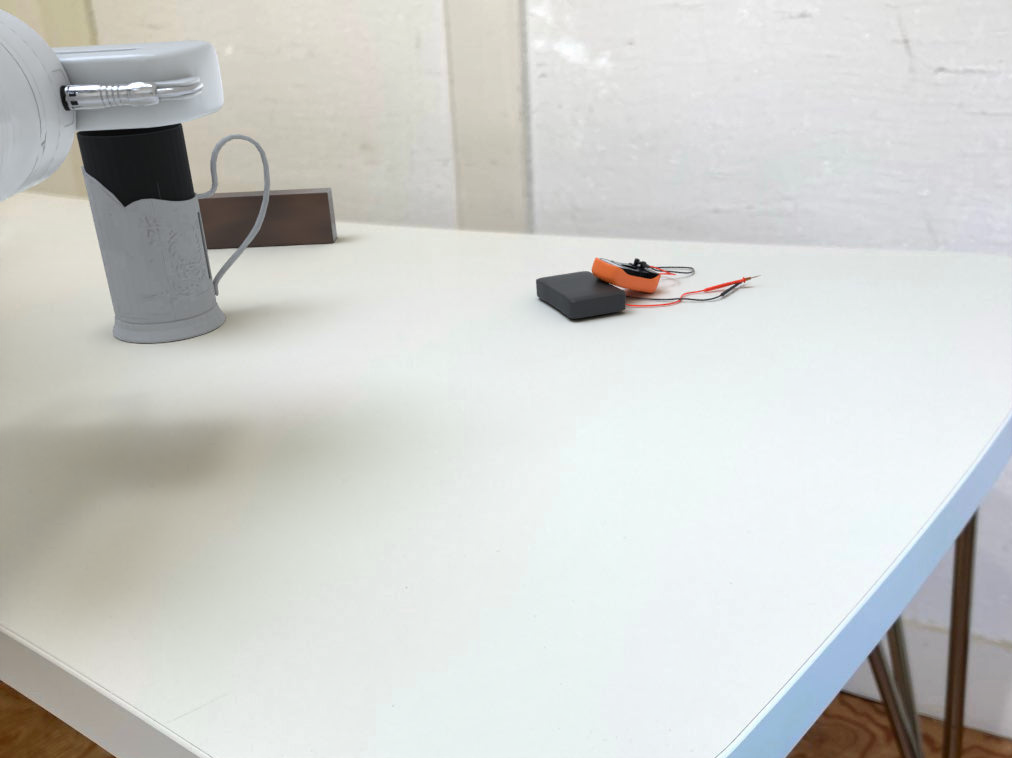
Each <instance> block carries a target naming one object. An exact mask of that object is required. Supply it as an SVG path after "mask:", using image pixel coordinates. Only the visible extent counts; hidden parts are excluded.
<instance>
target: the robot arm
mask: <svg viewBox="0 0 1012 758" xmlns="http://www.w3.org/2000/svg"><path fill="white" fill-rule="evenodd" d="M220 67H221V66H220V62H219V57H218V54H217V50H216V48H215V45H213V44H212V43H211V42H208V41H205V40H197V39H196V40H172V41H153V42H133V43H113V44H112V43H111V44H95V45H75V46H56V47H55V46H54V47H51V46H50V44H48V42H47V41H46V40H45V39H44V37H42V36H41V35H40V34H39V33H38V32H37V31H36V30H35V29H34V28H32V27H31V26H30V25H29V24H28V23H27V22H25V21H23V20H22V19H20V18H19V17H17V16H16V15H13V14H12V13H11V12H8V11H5V10H3V9H1V8H0V203H3V202H5V201H7V200H8V199H10V198H12V197H14V196H16V195H18V194H21V193H23V192H24V191H27V190H29V189H31V188H33V187H35V186H37V185H39V184H41V183H42V182H44V181H46V180H47V179H49V178H50V177H51V176H52V175H53V174H55V173H56V172H57V171H58V170H59V168H60V167H62V165H63V164H64V162H65V161H66V159H67V157H68V155H69V153H70V151H71V148H72V146H73V142H74V139H75V135H76V132H79V131H95V130H115V129H134V128H151V127H160V126H167V125H173V124H178V123H181V124H182V123H183V124H184V123H187V122H191V121H194V120H197V119H200V118H204V117H206V116H209V115H212V114H215V113H218V112H219V111H220V110H221V109H222V108H223V106H224V104H225V103H224V102H225V97H224V96H225V95H224V87H223V81H222V73H221V68H220Z"/></svg>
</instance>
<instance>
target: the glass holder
mask: <svg viewBox="0 0 1012 758" xmlns="http://www.w3.org/2000/svg"><path fill="white" fill-rule="evenodd" d="M75 135H76V138H77V139H76V140H77V143H78V147H79V152H80V156H81V161H82V165H80V168H81V172H82V176H83V181H84V185H85V189H86V190H85V191H86V194H87V198H88V202H89V207H90V211H91V217H92V220H93V225H94V229H95V233H96V238H97V242H98V246H99V247H98V248H99V250H100V255H101V260H102V264H103V268H104V273H105V277H106V282H107V287H108V291H109V295H110V300H111V304H112V307H113V313H114V323H113V327H112V335H113V337H114V338H116V339H117V340H119V341H123V342H127V343H133V344H135V343H136V344H156V343H168V342H175V341H181V340H187V339H191V338H195V337H198V336H202V335H204V334H207V333H210V332H212V331H214V330H216V329H218V328H219V327H221V326H222V325H223V324H224V323H225V322H226V316H225V314H224V312H223V311H222V309H221V308H220V306H219V303H218V301H217V296H219V294H220V293H219V283H220V281H221V279H222V278H223V277H224V275H226V273H227V271H228V270H230V268H231V267H232V266H233V264H235V262H236V261H237V260H238V259H239V258H240V257H241V255H242V254H243V253H244V251H245V250H246V249H247V248H248V247H247V246H248V245H249V244H250V242H251V241H252V240H253V239H254V237H255V236H256V234H257V233H258V232H259V230H260V228H261V225H262V223H263V220H264V217H265V214H266V210H267V206H268V202H269V192H270V191H271V176H270V167H269V162H268V159H267V154H266V151H265V150H264V149H263V147H262V146H261V144H260V143H259V142H258V141H256V140H255V139H254V138H252V137H250V136H248V135H245V134H241V133H240V134H239V133H235V134H228V135H227V136H224V137H222V138H221V139H220V140H219V141H217V143H216V144H215V145H214V147H213V149H212V152H211V156H210V160H209V166H210V170H209V171H210V176H211V177H210V178H211V188H210V189H209V190H208V191H205V192H201V193H197V192H195V189H194V182H193V178H192V170H191V166H190V161H189V155H188V150H187V145H186V139H185V138H186V137H185V134H184V128H183V124H182V123H178V124H173V125H167V126H160V127H151V128H134V129H115V130H95V131H76V132H75ZM233 140H243V141H246V142H249V143H250V144H252V145H254V147H255V148H256V150H257V151H258V153H259V156H260V159H261V163H262V167H263V182H264V185H263V191H264V194H263V201H262V205H261V208H260V212H259V215H258V218H257V220H256V223H255V225H254V227H253V229H252V230H251V232H250V233H249V235H248V236H247V238H246V239H245V240H244V242H243V243H242V244H241V246H240V247H237V248H236V250H235V251H234V252H233V253H232V255H231V256H230V257H229V258H228V259H227V261H226V262H225V263H224V264H223V265H222V266H221V267H220V269H219V270H218V272H217V273H216V275H215V276H214V278H213V274H212V270H211V264H210V258H209V257H210V256H209V253H208V249H207V246H206V241H205V235H204V230H203V224H202V219H201V213H200V208H199V202H198V199H204V198H207V197H210V196H212V195H213V194H214V193H217V190H218V187H219V179H218V171H217V163H218V156H219V153H220V152H221V150H222V148H223V147H224V146H225V145H226V144H227V143H228V142H230V141H233Z"/></svg>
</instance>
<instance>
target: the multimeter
mask: <svg viewBox="0 0 1012 758" xmlns="http://www.w3.org/2000/svg"><path fill="white" fill-rule="evenodd" d="M665 269H689V270H691V271H678V270H677V271H676V270H665ZM694 272H695V268H694V267H691V266H655V265H650V264H648V263H647V262H646V261H645V260H640V258H638V257H634V259H633V262H628V263H627V262H620V261H614V260H610V259H608V258H603V257H597V256H596V257H595V258H594V261H593V263H592V265H591V272H590V271H588V270H583V271H575V272H569V273H561V274H556V275H549V276H543V277H539V278H537V279H536V280H535V286H536V287H535V288H536V297H537V298H538V299H540V300H542V301H544V302H546V303H547V304H549V305H551V306H552V307H553V308H555V309H557V310H558V311H559V312H561V313H562V314H563V315H565V316H566V317H567V318H569V319H582V318H589V317H595V316H600V315H606V314H612V313H617V312H618V313H619V312H622V311H624V310H626V307H627V306H628V307H639V308H641V307H642V308H645V307H646V308H647V307H659V306H660V307H663V306H670V305H674V304H678V303H679V302H681V301H682V300H683V301H684V300H685V301H695V302H706V301H712V300H717V299H718V298H720V297H721V298H722V297H724V296H725V295H727V294H728V293H730V292H731V291H733V290H734V289H735V288H737V287H738V286H739V285H741V284H743V283H744V284H745V283H746V282H747V281H751V280H752V279H755V278H758V277H760V276H761V275H755V276H748V277H745V276H742V278H741V279H736V280H732V281H728V282H723V283H720V284H716V285H712V286H709V287H705V288H704V289H700V290H694V291H688V292H685V293H684V292H683V293H682V294H681V295H680V297H674V298H673V297H672V298H654V297H652V298H651V297H640V296H639V297H638V296H631V295H627V293H626V291H625V290H624V289H626V290H631V291H638V292H643V293H649V294H654V293H655V292H656V290H657V288H658V285H659V284H660V280H661V276H662V275H664V276H666V275H668V276H677V274H682V275H683V274H685V275H687V274H688V275H689V274H692V273H694ZM727 287H728V288H727ZM723 288H727V289H726V290H724V291H722V292H721V293H720V294H719V295H716V296H714V297H710V298H692V297H691V298H689V297H684V296H686V295H689V294H697V293H702V292H704V293H707V292H711V291H715V290H720V289H723ZM627 298H628V299H635V300H647V301H648V300H649V301H672V302H666V303H657V304H655V303H654V304H630V303H626V301H627Z"/></svg>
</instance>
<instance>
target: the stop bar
mask: <svg viewBox="0 0 1012 758" xmlns="http://www.w3.org/2000/svg"><path fill="white" fill-rule="evenodd" d="M263 194H264V190H253V191H252V190H251V191H250V190H249V191H233V192H232V191H231V192H230V191H229V192H215V193H214V194H213V195H212V196H210V197H207V198H204V199H198V202H199V208H200V213H201V219H202V224H203V230H204V235H205V241H206V246H207V250H211V249H233V248H234V249H235V248H236V249H237V248H239V247H240V246H241V244H242V243H243V242H244V240H245V239H246V238H247V236H248V235H249V233H250V232H251V230H252V229H253V227H254V225H255V223H256V220H257V218H258V215H259V212H260V208H261V205H262V201H263ZM334 207H335V206H334V200H333V191H332V187H314V188H313V187H312V188H296V189H295V188H294V189H275V190H274V189H273V190H272V189H270V192H269V202H268V206H267V210H266V214H265V217H264V220H263V223H262V225H261V228H260V230H259V232H258V233H257V234H256V236H255V237H254V239H253V240H252V241H251V242H250V244H249V245H248V246H247V248H253V247H254V248H256V247H257V248H258V247H272V246H273V247H276V246H295V245H296V246H298V245H319V244H321V245H322V244H334V243H335V241H336V240H337V238H338V232H337V223H336V216H335V208H334Z"/></svg>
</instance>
